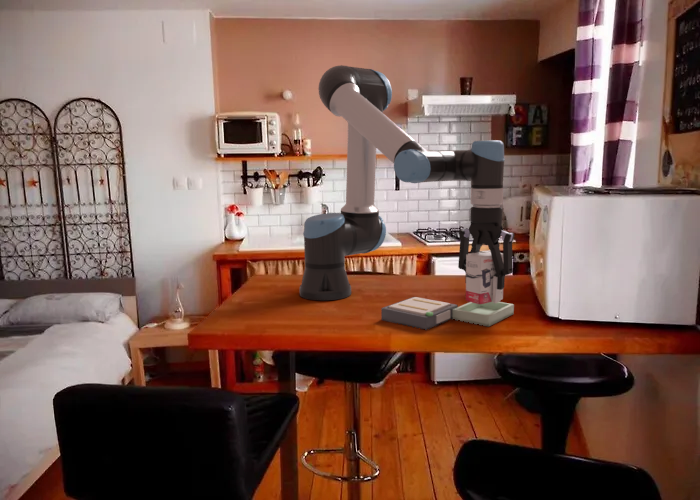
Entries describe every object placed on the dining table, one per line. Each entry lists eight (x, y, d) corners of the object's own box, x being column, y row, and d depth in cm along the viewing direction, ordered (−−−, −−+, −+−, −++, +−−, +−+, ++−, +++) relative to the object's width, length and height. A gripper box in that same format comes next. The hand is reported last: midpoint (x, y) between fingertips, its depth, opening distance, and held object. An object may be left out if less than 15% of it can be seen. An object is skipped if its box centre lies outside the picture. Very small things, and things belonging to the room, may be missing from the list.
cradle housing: (381, 319, 130) (381, 305, 129) (413, 307, 140) (414, 294, 140) (427, 330, 121) (427, 315, 121) (458, 316, 132) (458, 302, 131)
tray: (452, 319, 130) (452, 309, 129) (478, 307, 140) (479, 298, 139) (488, 326, 123) (488, 316, 123) (513, 313, 133) (513, 304, 133)
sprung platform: (388, 310, 130) (388, 305, 129) (415, 300, 138) (415, 296, 138) (424, 317, 123) (424, 312, 123) (450, 307, 131) (450, 302, 131)
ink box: (480, 305, 126) (481, 256, 125) (464, 300, 130) (465, 253, 129) (503, 299, 131) (505, 252, 129) (488, 295, 135) (489, 250, 133)
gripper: (444, 205, 130) (442, 297, 134) (517, 208, 118) (514, 309, 122) (459, 203, 136) (457, 291, 140) (531, 206, 124) (527, 302, 127)
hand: (484, 299), depth 131 cm, fingers closed on ink box, 6 cm apart
